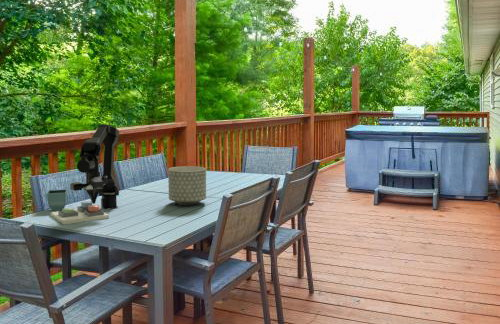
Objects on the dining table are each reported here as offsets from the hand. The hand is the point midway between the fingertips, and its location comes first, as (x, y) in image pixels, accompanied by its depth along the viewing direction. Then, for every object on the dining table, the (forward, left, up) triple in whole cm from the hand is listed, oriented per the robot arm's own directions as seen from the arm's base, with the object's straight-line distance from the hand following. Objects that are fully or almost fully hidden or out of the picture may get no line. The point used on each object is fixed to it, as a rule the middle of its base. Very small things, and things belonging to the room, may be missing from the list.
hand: (93, 203), depth 229 cm
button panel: (+5, -5, -6) cm, 10 cm away
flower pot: (+9, -26, -7) cm, 28 cm away
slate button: (0, -10, -4) cm, 11 cm away
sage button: (+10, -5, -5) cm, 12 cm away
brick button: (0, 0, -4) cm, 4 cm away
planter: (-49, -2, -7) cm, 49 cm away
